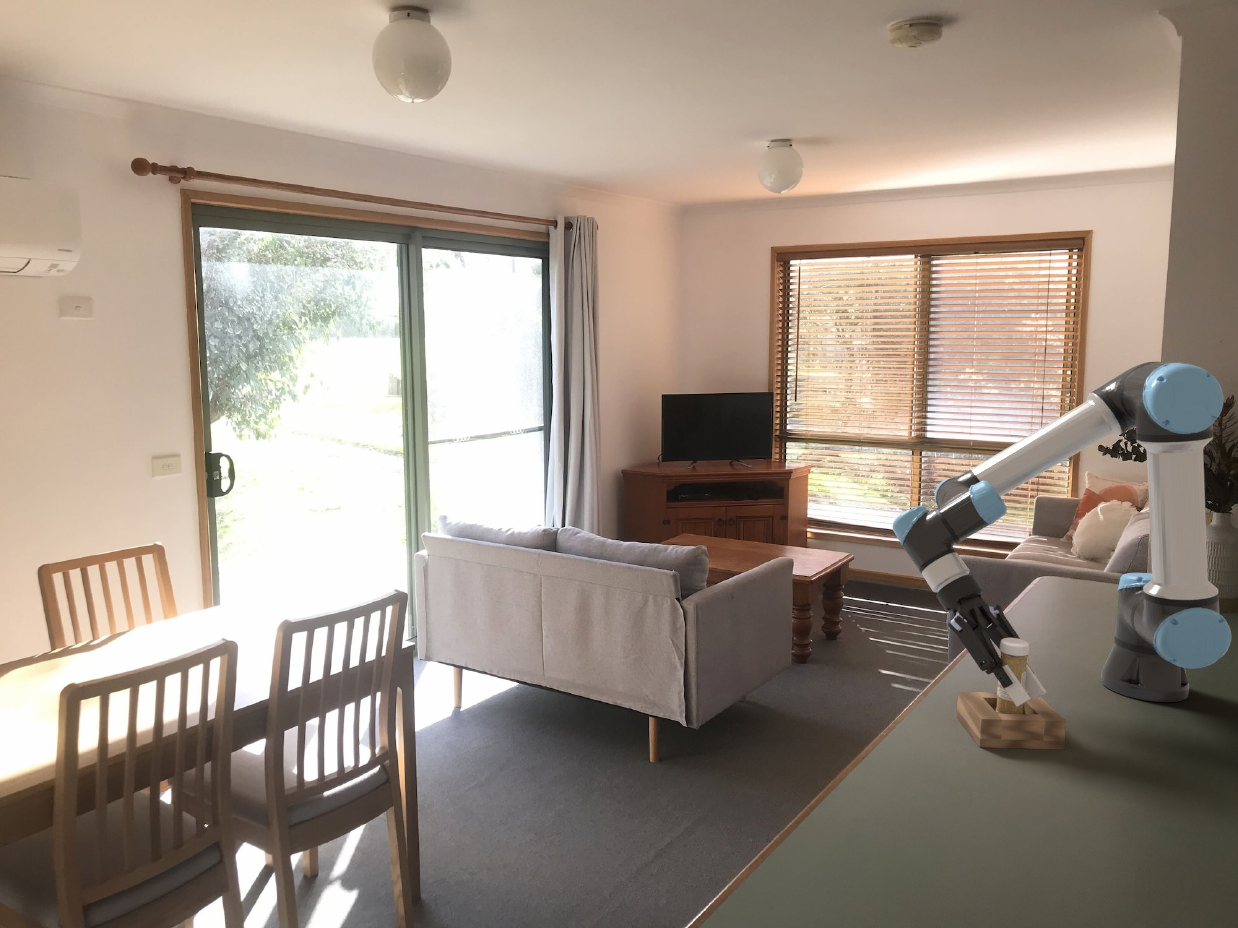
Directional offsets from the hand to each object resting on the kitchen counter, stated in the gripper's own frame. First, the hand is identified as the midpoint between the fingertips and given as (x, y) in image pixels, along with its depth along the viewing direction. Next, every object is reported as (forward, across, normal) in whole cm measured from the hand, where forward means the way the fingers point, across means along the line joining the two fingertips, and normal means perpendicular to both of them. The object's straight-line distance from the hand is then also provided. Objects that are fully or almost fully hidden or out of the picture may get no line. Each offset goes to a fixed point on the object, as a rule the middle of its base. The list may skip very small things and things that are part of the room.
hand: (1031, 699), depth 156 cm
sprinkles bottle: (0, 0, -6) cm, 6 cm away
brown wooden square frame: (+3, 0, -8) cm, 8 cm away
